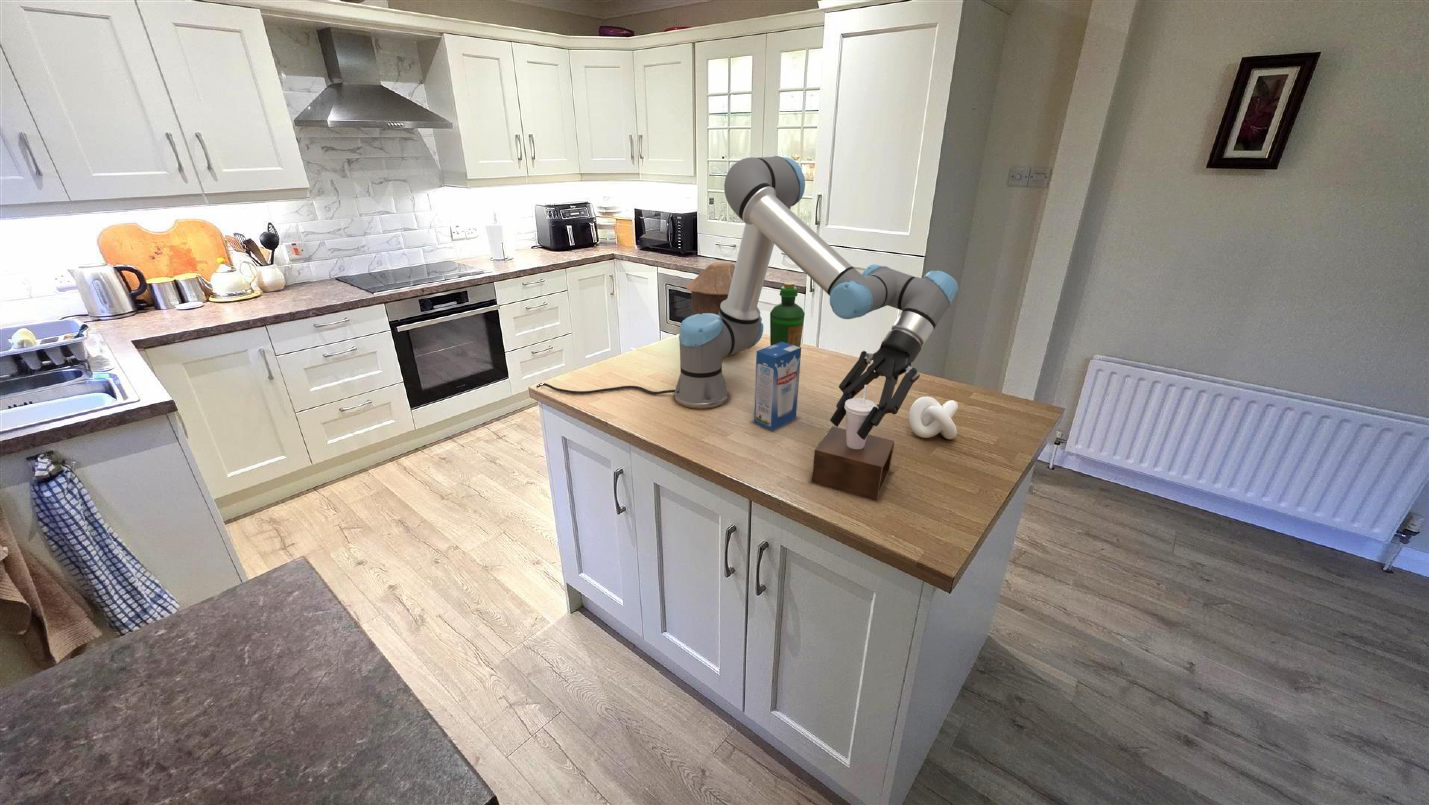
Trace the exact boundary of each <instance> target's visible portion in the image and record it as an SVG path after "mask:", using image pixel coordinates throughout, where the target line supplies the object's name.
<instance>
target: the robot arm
mask: <svg viewBox="0 0 1429 805" xmlns="http://www.w3.org/2000/svg"><path fill="white" fill-rule="evenodd" d="M802 170H803V169H802V168H801V166H800V165H799V164H798V162H797V161H795V160H794V159H793V158H790V157H786V156H781V155H774V156H759V157H755V156H754V157H753V156H751V157H745V158H742V159H739V160H738V161H737V162H735V163H734V164H732V166H731V167H730V168H729V170H728V171H727V173H726V176H725V179H724V184H723V190H724V196H725V199H726V202H727V204H728V205H729V207H730V209H731V210H732V211H733V213H734V214H735V215H736V216H737V217H738V218H739V219H740V220H741V221H743V222H744V223H745V224H744V227H743V232H742V236H741V240H740V245H739V247H738V248H739V249H738V253H737V257H736V261H735V264H734V265H735V269H734V273H733V278H732V282H731V286H730V290H729V294H728V298H727V299H726V300H724V301H722V303H721V305H720V309H719V313H718V315H716V314H711V313H703V314H696V315H692V314H691V315H690V316H688V317H686V318H684V319H683V320H682V321H681V323H680V325H679V334H678V341H679V366H680V372H679V373H680V374H679V377H678V380H677V383H676V386H675V389H665V390H660V391H654V390H653V391H652V390H649V389H647V388H645V387H642V386H639V385H621V386H613V387H607V388H600V389H592V390H570V389H563V388H559V387H556V386H553V385H551V384H549V383H546V382H541V383H539V384H537V385H536V386H535V388H537V389H539V388H541V387H547V388H549V389H551V390H554V391H556V392H560V393H566V394H574V395H587V394H596V393H603V392H612V391H618V390H625V389H635V390H640V391H643V392H645V393H647V394H650V395H662V394H672V393H674V400H675V402H676V403H677V404H679V406H683V407H684V408H689V409H695V410H706V409H707V410H708V409H715V408H718V407H720V406H722V405H724V404H725V403H727V401H728V399H729V390H728V387H727V383H726V380H725V377H724V374H723V359H724V358H727V357H729V356H732V355H735V354H738V353H741V352H744V351H746V350H747V351H748V350H749V349H751V348H752V347H754V346H756V345H757V344H758V343H759V342H760V341H761V338H762V336H763V333H764V323H763V322H762V321H763V318H762V316H761V310H760V309H759V307H758V303H759V300H760V298H761V297H760V296H761V294H762V289H763V286H764V282H765V279H766V275H767V272H768V268H769V264H770V261H771V258H772V254H773V249H774V246H776V247H777V248H778V249H779V250H780V251H781V252H783V254H784V255H785V256H787V257H788V258H789V259H790V260H791V261H792V262H793V264H795V265H796V266H797V267H798V268H799V269H800V270H802V271H803V273H804V274H806V275H807V276H808V277H809V278H810V279H811V280H812V281H813V282H814V283H815V284H816V285H817V286H819V287H820V288H821V289H822V290H823V291H824V292H825V293H826V294H827V295H828V296H829V305H830V308H831V310H832V312H833V313H834V315H835V316H837V317H838V318H840V319H843V320H853V319H857V318H861V317H865V316H866V315H867V314H869V313H871V312H873V311H877V310H880V309H882V308H885V307H890V308H894V309H896V310H899V311H901V313H899V315H898V317H897V319H896V320H895V322H894V323H893V324H892V326H891V327H890V328H891V330H889V331H888V332H887V334H886V335H885V337H884V338H883V340H882V341H881V344H880V346H879V348H878V349H877V350H876V351H875V352H874V353H869V352H867V351H866V350H862V351H861V352H860V355H859V358H858V360H857V361H856V362H855V364H854V365H853V366H852V368H850V370H849V372H848V373H847V374H846V376H844V378H843V379H842V381H841V382H840V383H839V385H838V388H839V390H840V391H841V392H842V395H841V397H840V399H839V400H838V401H837V403H836V405H835V407H836V410H835V411H834V412H833V414H832V415H831V417H830V419H829V421H830V422H831V423H832V425H833V426H834V427H838V428H839V426H840V425H841V423H842V421H843V419H844V418H845V417H846V409H845V408H844V406H845V402H846V401H847V400H849V399H852V398H855V396H857V395H858V394H859V393H860V392H861V391H862V390H864V386H865V385H867V386H868V385H869V384H870V383H871V382H872V381H874V380H876V379H878V378H879V377H884V378H885V380H884V384H883V387H882V390H881V395H880V398H879V402H878V403H877V404H876V407H873V408H872V410H871V411H870V413H869V415H868V416H867V418H866V419H865V421H864V422H863V424H862V425H861V427H860V428H859V430H858V432H857V434H858V435H859V436H860V437H861V439H864V440H865V438H866V437H867V435H870V434H869V433H871V430H872V429H873V428H874V427H878V426H879V424H881V421H882V420H883V419H884V417H885V415H888V414H892V415H894V416H895V415H897V414H898V412H899V411H900V408H901V407H902V405H903V403H904V401H905V399H906V397H907V396H908V393H909V392H910V390H911V388H912V387H913V384H914V383H916V381H917V380H919V378H920V377H921V376H920V375H921V374H920V373H919V371H918V370H917V368H915V367H912V363H913V362H915V361H916V358H917V356H918V355H919V354H920V352H921V351H922V347H924V346H925V344H926V342H927V341H928V340H929V338H930V337H931V335H932V333H933V331H934V330H935V328H936V327H937V326H938V324H939V322H940V321H941V320H942V319H943V317H944V315H945V314H946V312H947V310H948V309H949V308H950V307H951V305H952V302H953V300H954V299H955V297H956V295H957V294H958V291H959V284H958V282H957V281H956V279H955V278H954V277H953V276H951V275H950V274H948V273H946V272H944V271H941V270H929V271H928V272H927V273H926V274H925V275H924V276H923V278H921V277H918V276H913V275H911V274H908V273H905V272H902V271H898V270H896V269H893V268H890V267H889V266H886V265H879V264H877V263H876V264H875V263H874V264H870V265H868V266H867V267H866V269H864V270H863V272H862V273H861V272H859V270H857V269H856V268H855V267H854V266H853V265H852V264H850V263H849V262H848V261H847V260H846V259H845V257H843V256H842V255H841V254H839V253H838V252H837V251H836V250H835V249H834V248H833V247H831V246H830V245H829V243H828V242H827V241H825V240H824V239H823V238H822V237H821V236H819V234H818V233H817V232H815V231H814V230H813V229H812V227H810V226H809V225H807V223H806V222H804V221H803V220H802V219H801V218H800V217H799V216H797V214H795V213H794V212H793V211H792V210H791V208H792V207H794V206H795V205H797V204H798V203H799V202H800V201H801V200H802V198H803V197H804V194H805V189H806V180H805V179H806V178H805V175H804V174H805V173H804V172H803V171H802ZM903 374H904V376H903V377H902V379H901V381H900V383H899V384H898V380H899V377H900V376H901V375H903ZM542 383H544V384H543V385H540V384H542ZM897 384H898V386H897V388H896V390H895V387H896V385H897ZM538 385H539V386H538ZM894 391H895V392H894Z"/></svg>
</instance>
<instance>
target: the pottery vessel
mask: <svg viewBox="0 0 1429 805" xmlns="http://www.w3.org/2000/svg"><path fill="white" fill-rule="evenodd" d="M735 265H736V264H734V263H733V262H712V263H710V264H708V266H706V267H705V268H704V269H703V270H702V271H701V272H700V273H699V274H698V275H697V276H696V277H695V278H694V279H693V280H691V281H690V282H688V283H686V285H685V288H686V289H687V290H688V291H690V296H691V316H692V315H696V314H703V313H711V314H716V315H718V313H719V309H720V305H721V303H722V301H724V300H726V299H727V298H728V294H729V290H730V286H731V282H732V278H733V273H734V269H735Z"/></svg>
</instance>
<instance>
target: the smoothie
mask: <svg viewBox="0 0 1429 805" xmlns="http://www.w3.org/2000/svg"><path fill="white" fill-rule="evenodd" d="M867 391H868V385H865V386H864V388H863V393H862V394H863V395H862V397H853V398H852V399H849V400H847V401H846V402H845V406H844V408H845V409H846V415H845V429H846V439H847V446H848V447H850V448H852V449H862V448H864V446H865V442H866V439H867V437H866V438H865V440H864V439H861V437H860V436H859V435H858V434H857V432H858V430H859V428H860V427H861V425H862V424H863V422H864V421H865V419H866V418H867V416H868V415H869V413H870V411H871V410H872V408H873V407H877V404H876V402H874V401H872V400H870V399H867V393H868V392H867Z"/></svg>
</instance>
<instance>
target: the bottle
mask: <svg viewBox="0 0 1429 805" xmlns="http://www.w3.org/2000/svg"><path fill="white" fill-rule="evenodd" d="M795 284H796V283H795V282H793V281H785V282H783V286H781V287H780V291H779V296H780V302H779V303H777V304H775V305H774V306H773V308H772V309H771V311H770V313H769V337H770V338H769V341H770V343H769V346H771V345H774V344H777V343H780V342H785V343H788V344H791V345H794V346H798V347H801V344H802V338H803V337H802V336H803V331H804V330H803V329H804V323H805V314H806V313H805V311H804V309H803V308H802V307H801V306H800V305H798V304H797V303H796V297H798V295H799V294H798V288H797V287H796V286H795Z"/></svg>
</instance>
